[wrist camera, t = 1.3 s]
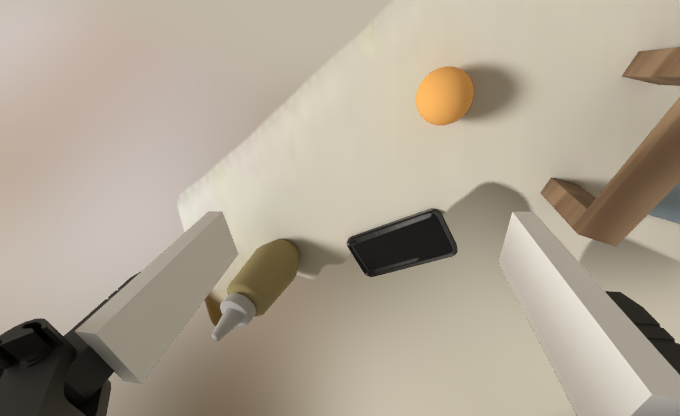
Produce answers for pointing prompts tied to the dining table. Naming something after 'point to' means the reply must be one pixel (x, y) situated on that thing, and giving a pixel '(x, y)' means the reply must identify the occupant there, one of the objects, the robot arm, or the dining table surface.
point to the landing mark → (669, 206)
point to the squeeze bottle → (257, 285)
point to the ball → (444, 95)
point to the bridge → (629, 167)
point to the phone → (403, 243)
